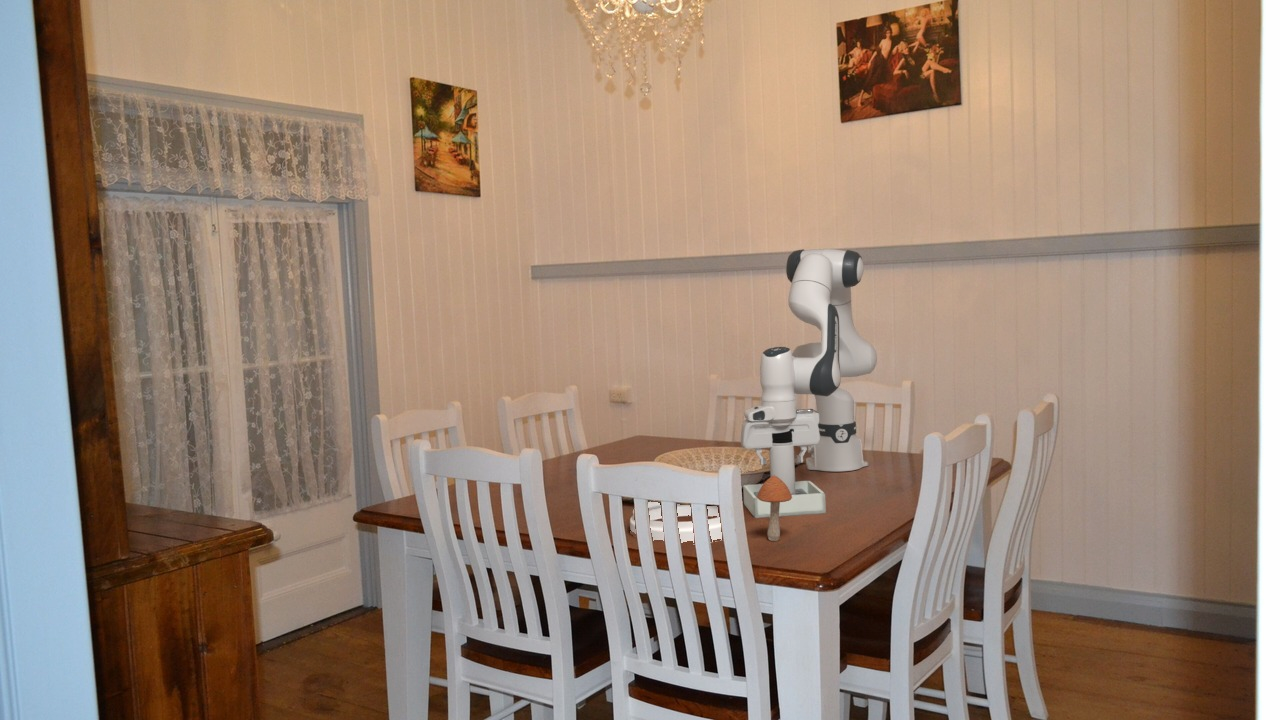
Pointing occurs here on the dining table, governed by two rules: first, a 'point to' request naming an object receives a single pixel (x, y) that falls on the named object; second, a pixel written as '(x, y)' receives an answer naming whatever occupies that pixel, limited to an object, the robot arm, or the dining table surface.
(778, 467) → the travel mug
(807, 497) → the crate
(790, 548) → the dining table surface
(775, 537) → the mushroom
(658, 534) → the plate
